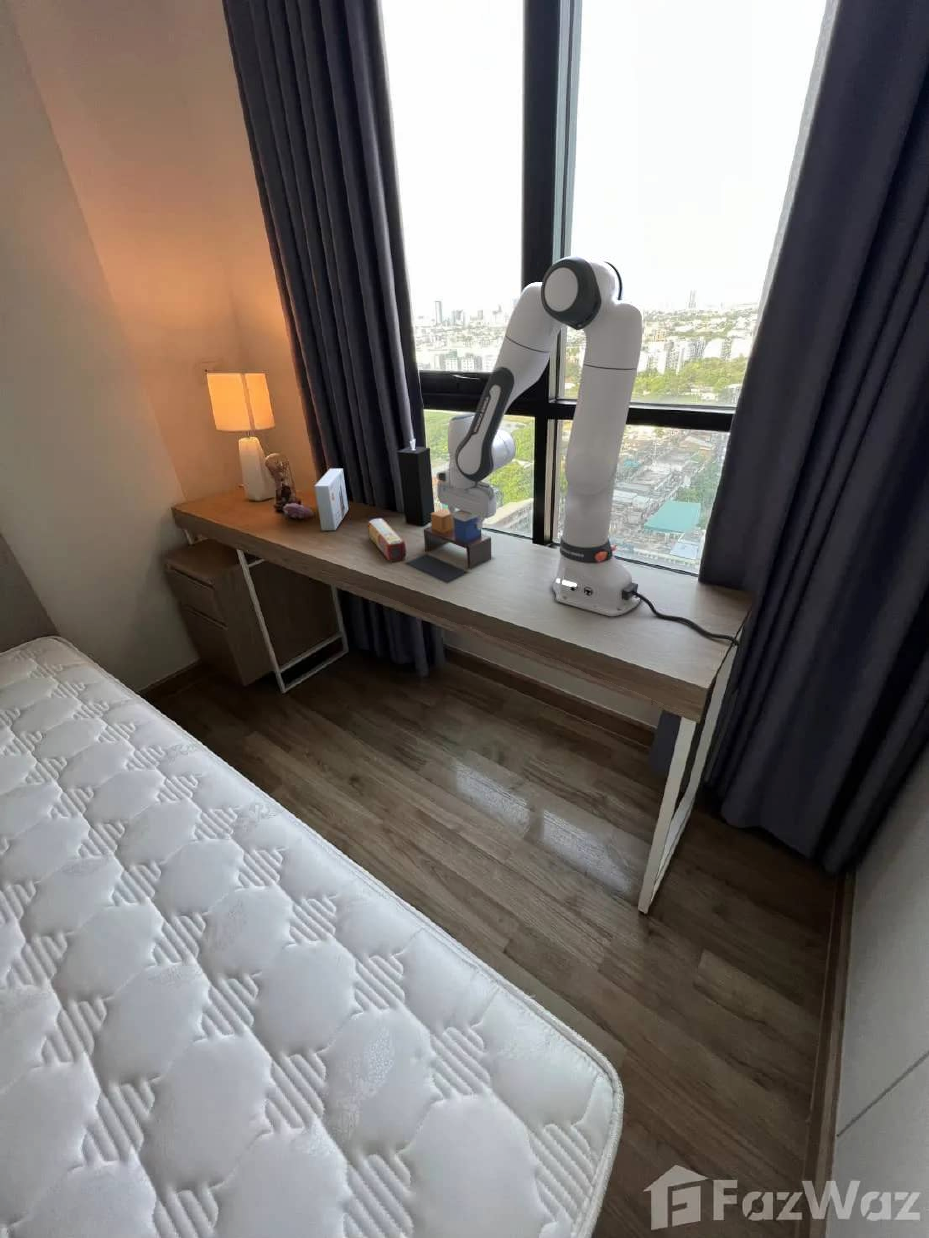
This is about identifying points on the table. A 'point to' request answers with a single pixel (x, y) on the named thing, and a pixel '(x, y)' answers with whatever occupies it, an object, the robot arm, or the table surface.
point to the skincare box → (331, 499)
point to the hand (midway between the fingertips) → (466, 524)
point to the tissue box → (416, 484)
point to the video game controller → (297, 510)
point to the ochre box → (442, 521)
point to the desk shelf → (475, 548)
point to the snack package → (386, 539)
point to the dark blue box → (465, 526)
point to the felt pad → (437, 568)
